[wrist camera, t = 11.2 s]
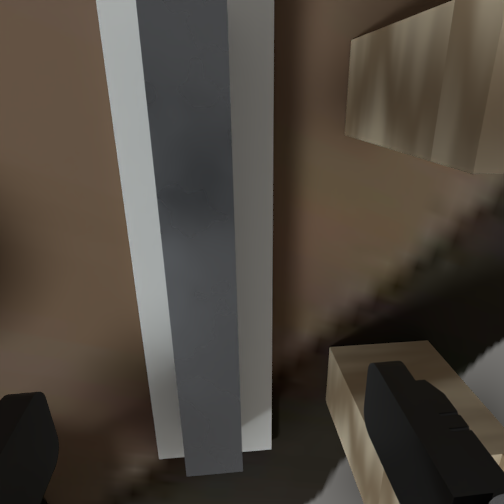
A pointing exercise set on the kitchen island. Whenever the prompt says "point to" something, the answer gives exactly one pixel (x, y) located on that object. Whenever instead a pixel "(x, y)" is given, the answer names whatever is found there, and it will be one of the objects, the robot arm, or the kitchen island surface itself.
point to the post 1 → (433, 86)
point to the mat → (245, 210)
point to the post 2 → (353, 396)
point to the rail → (196, 218)
